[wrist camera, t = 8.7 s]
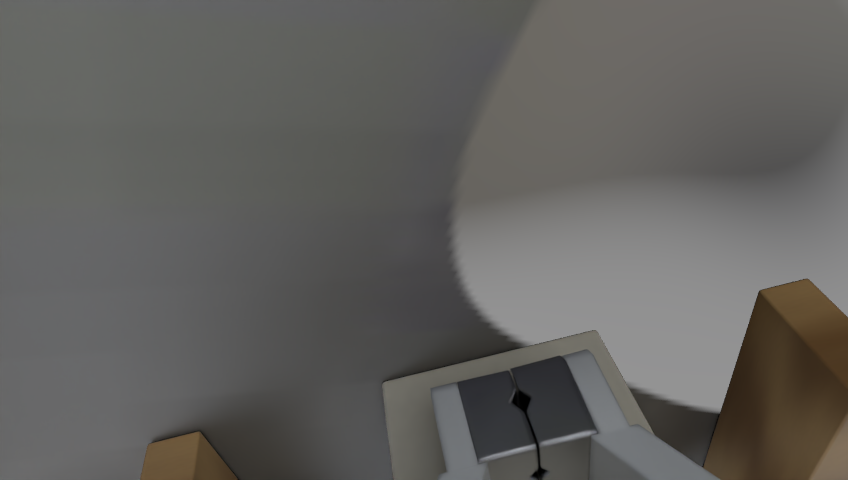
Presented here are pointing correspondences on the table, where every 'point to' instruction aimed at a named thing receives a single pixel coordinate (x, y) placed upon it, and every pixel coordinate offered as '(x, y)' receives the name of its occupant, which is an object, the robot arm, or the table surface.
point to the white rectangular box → (411, 396)
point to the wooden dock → (741, 412)
